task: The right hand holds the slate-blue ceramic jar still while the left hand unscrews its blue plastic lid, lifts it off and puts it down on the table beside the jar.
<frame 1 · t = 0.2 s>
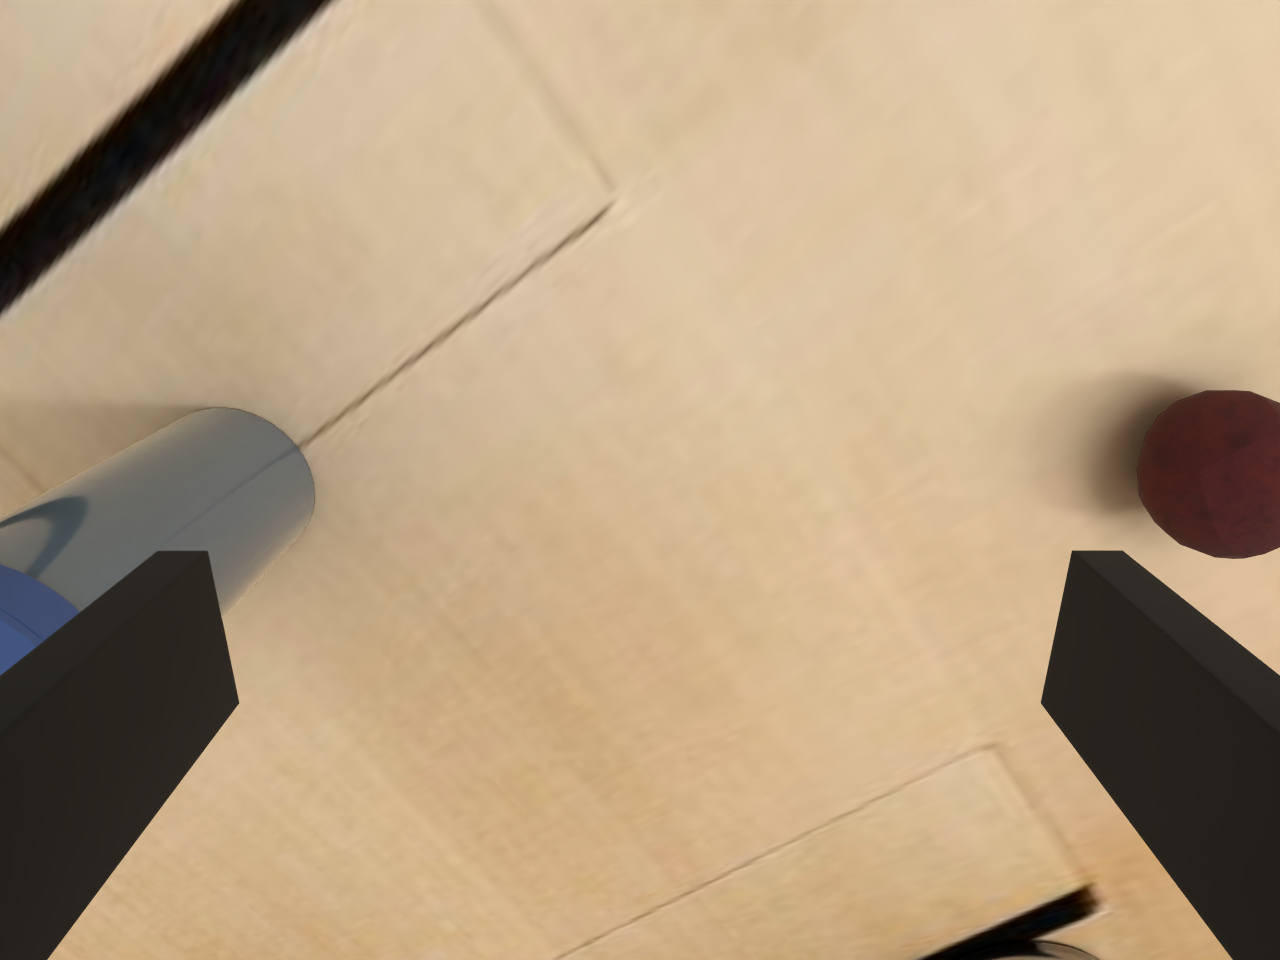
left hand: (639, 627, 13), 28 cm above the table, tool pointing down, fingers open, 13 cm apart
dark red ball: (1178, 446, 41), on the table
jar: (234, 484, 42), on the table
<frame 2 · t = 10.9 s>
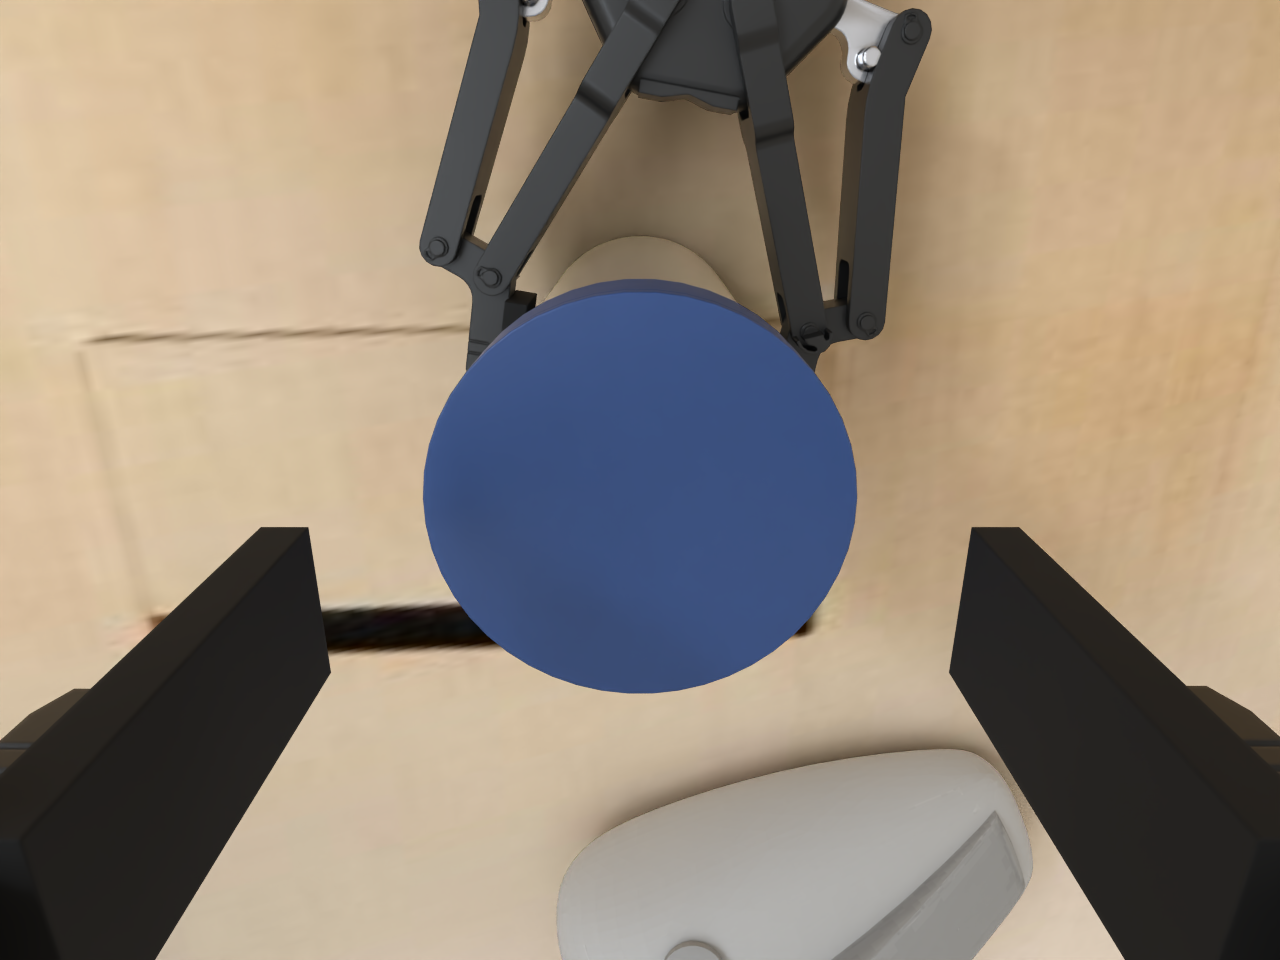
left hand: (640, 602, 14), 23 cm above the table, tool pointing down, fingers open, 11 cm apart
right hand: (618, 490, 31), fingers closed on jar, 8 cm apart
lid: (640, 505, 17), point 19 cm above the table, screwed on, not yet turned
projector: (791, 850, 45), on the table
jar: (640, 335, 35), on the table, touching right hand
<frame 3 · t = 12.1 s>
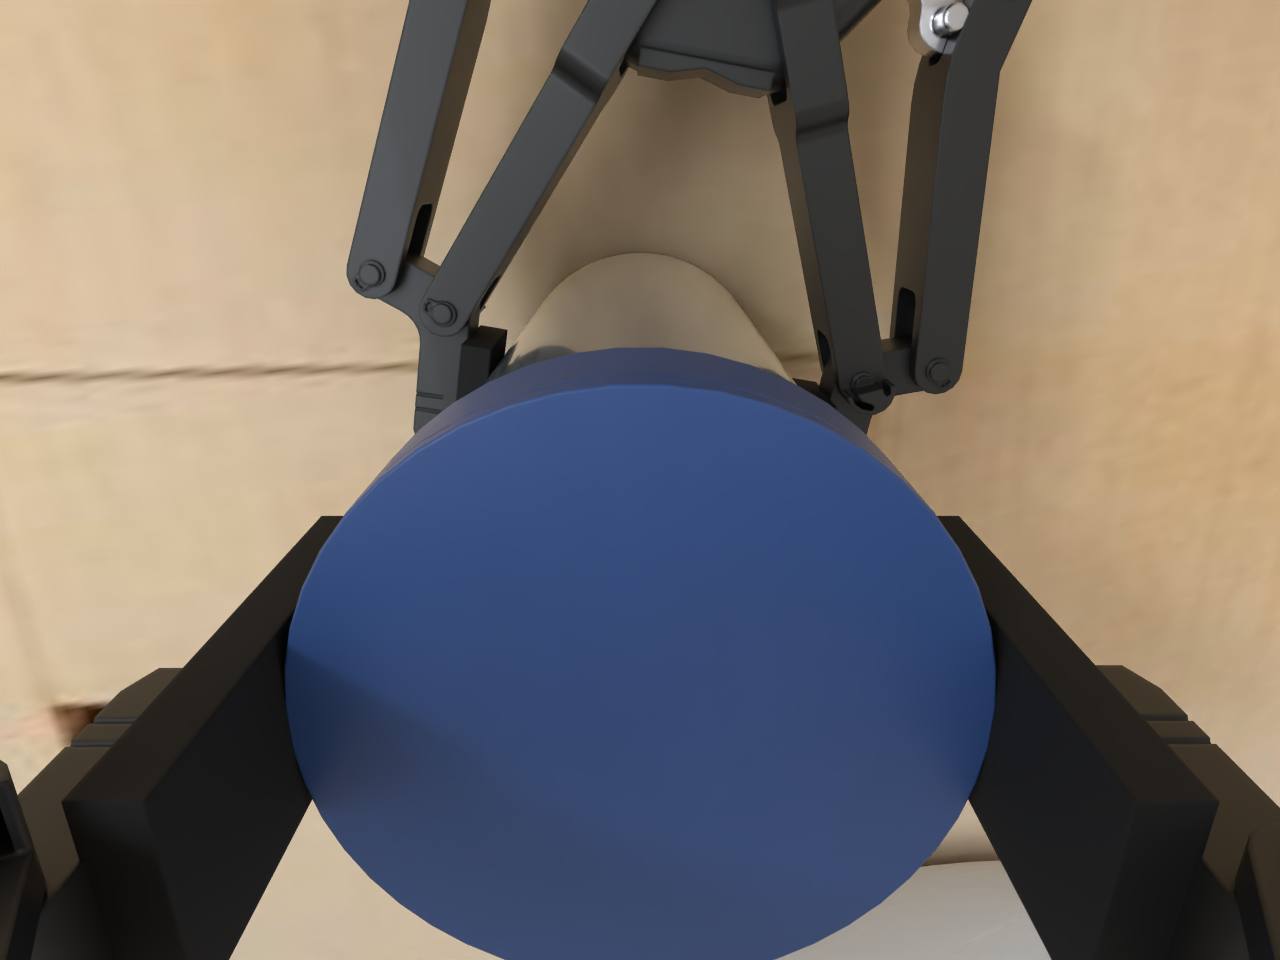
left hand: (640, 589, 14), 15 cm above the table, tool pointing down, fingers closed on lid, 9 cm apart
right hand: (613, 577, 24), fingers closed on jar, 8 cm apart
lid: (640, 711, 11), point 19 cm above the table, screwed on, not yet turned, touching left hand
jar: (639, 374, 28), on the table, touching right hand
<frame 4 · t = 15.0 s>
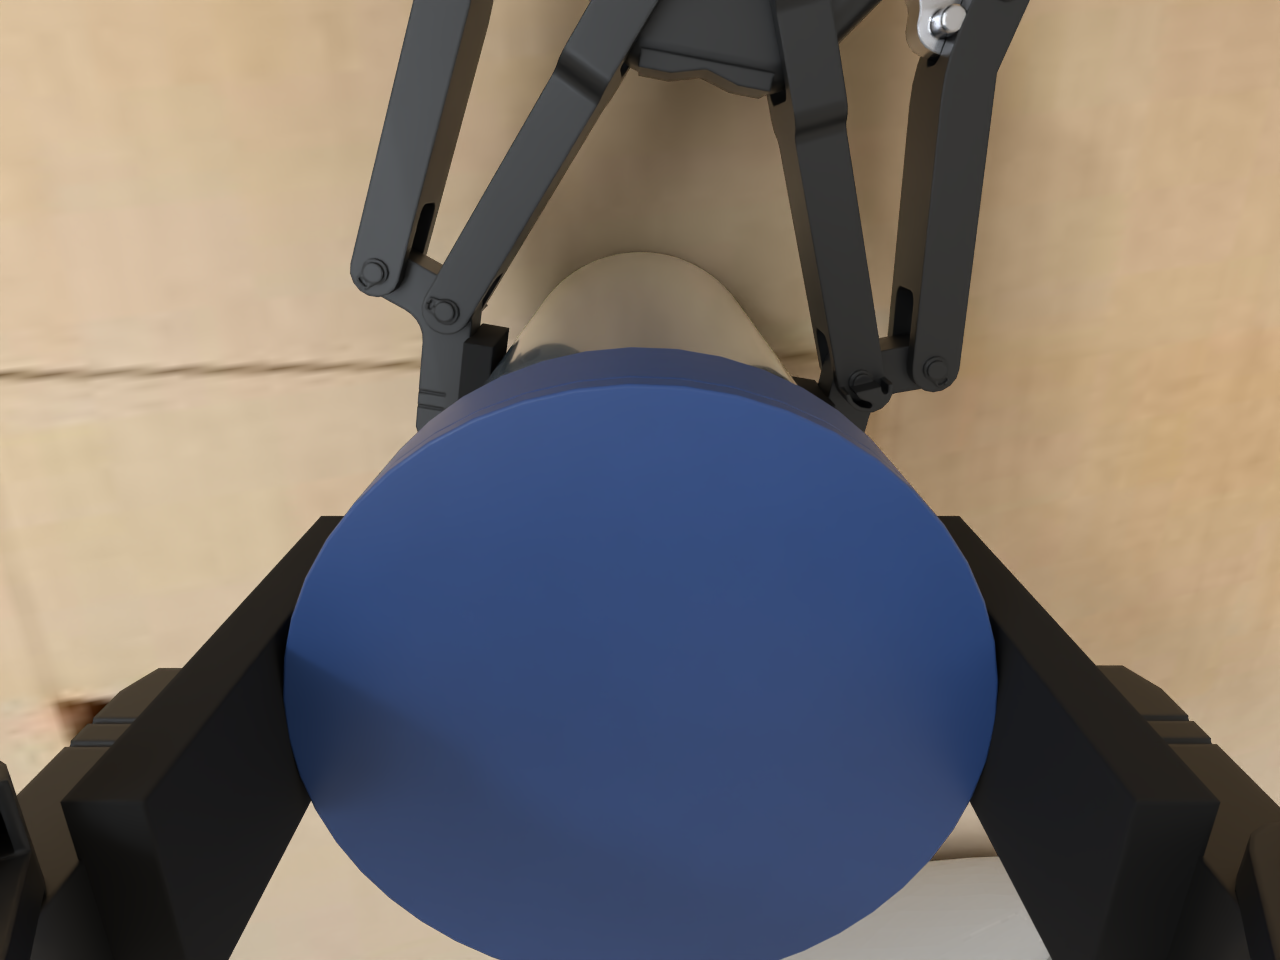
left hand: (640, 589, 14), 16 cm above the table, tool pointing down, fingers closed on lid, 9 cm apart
right hand: (613, 573, 25), fingers closed on jar, 8 cm apart
lid: (640, 713, 11), point 19 cm above the table, turned 73° so far, risen 0.3 cm, still on its thread, touching left hand
jar: (640, 372, 29), on the table, touching right hand
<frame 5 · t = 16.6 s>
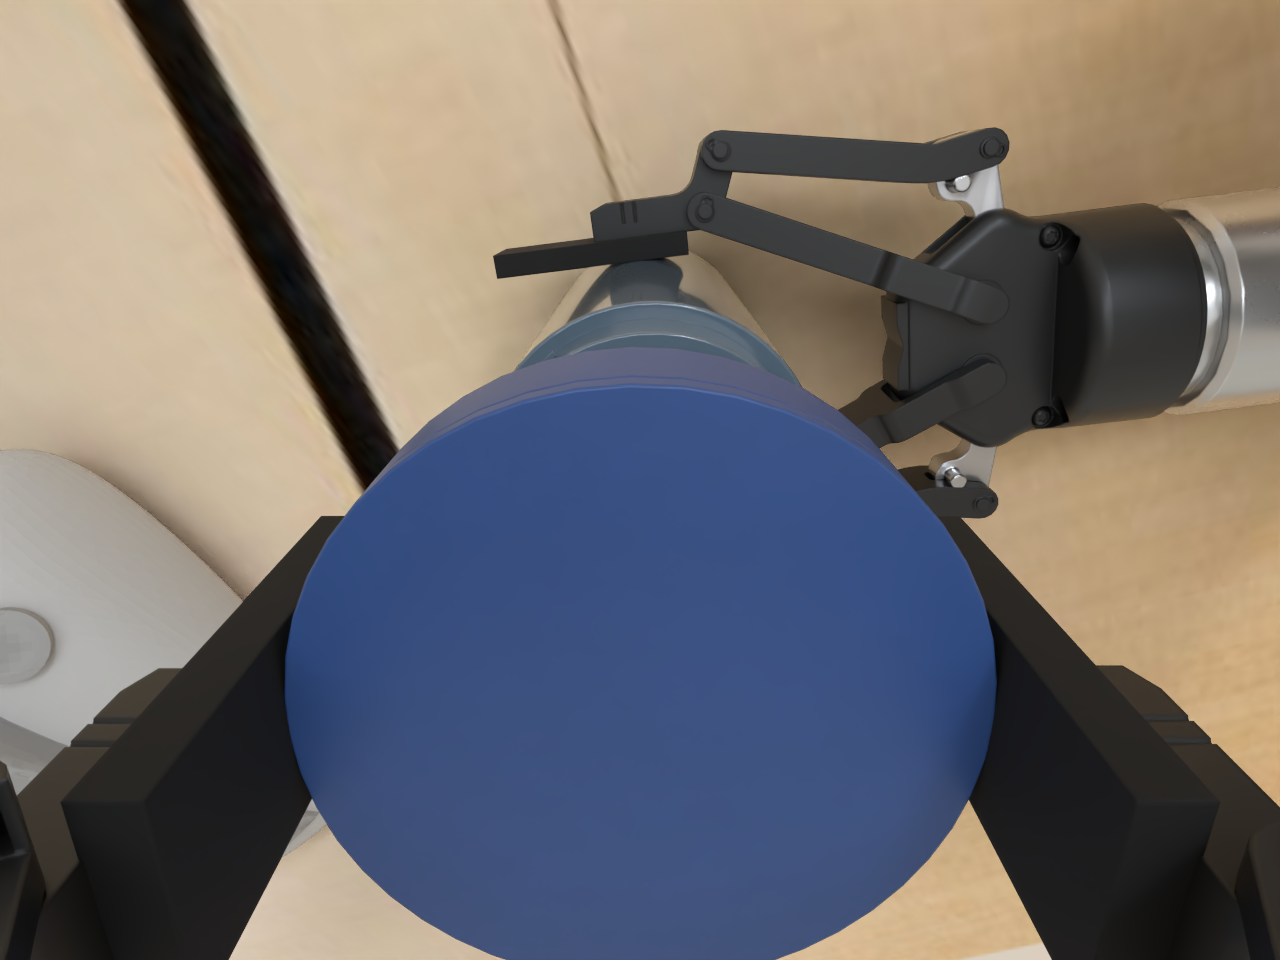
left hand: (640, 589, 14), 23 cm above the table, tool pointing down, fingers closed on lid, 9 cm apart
right hand: (524, 386, 31), fingers closed on jar, 8 cm apart
lid: (640, 712, 11), point 27 cm above the table, off its thread, touching left hand
projector: (163, 654, 42), on the table
jar: (650, 339, 36), on the table, touching right hand
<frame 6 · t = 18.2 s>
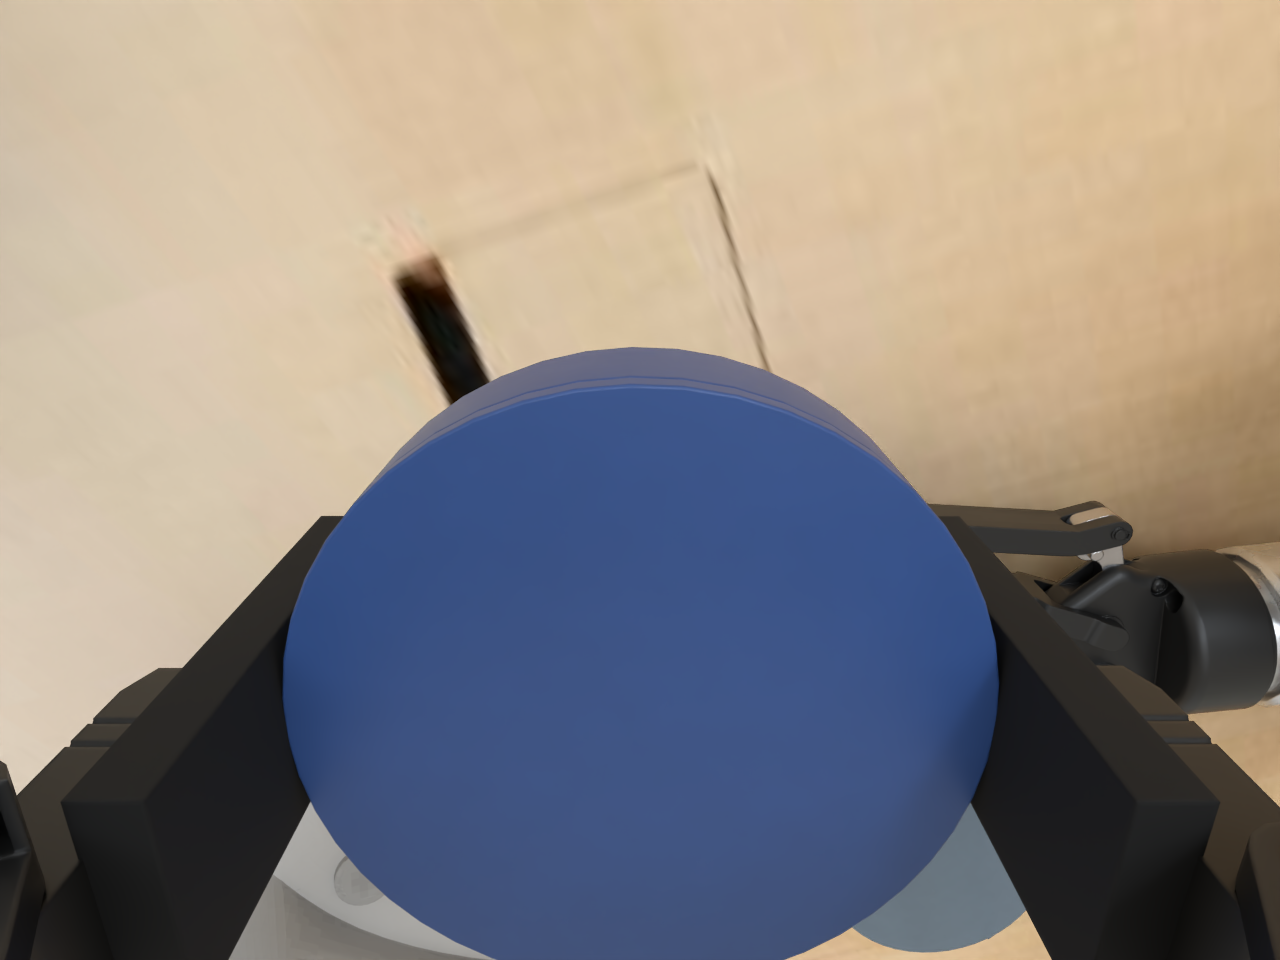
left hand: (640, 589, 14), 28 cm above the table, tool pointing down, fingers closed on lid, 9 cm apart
lid: (640, 714, 11), point 32 cm above the table, off its thread, touching left hand
projector: (411, 830, 52), on the table
jar: (824, 604, 46), on the table, touching right hand
when the left hand's fingers open (0 cm above the table, at t = 21.6 s): lid drops 2 cm, point 2 cm above the table.
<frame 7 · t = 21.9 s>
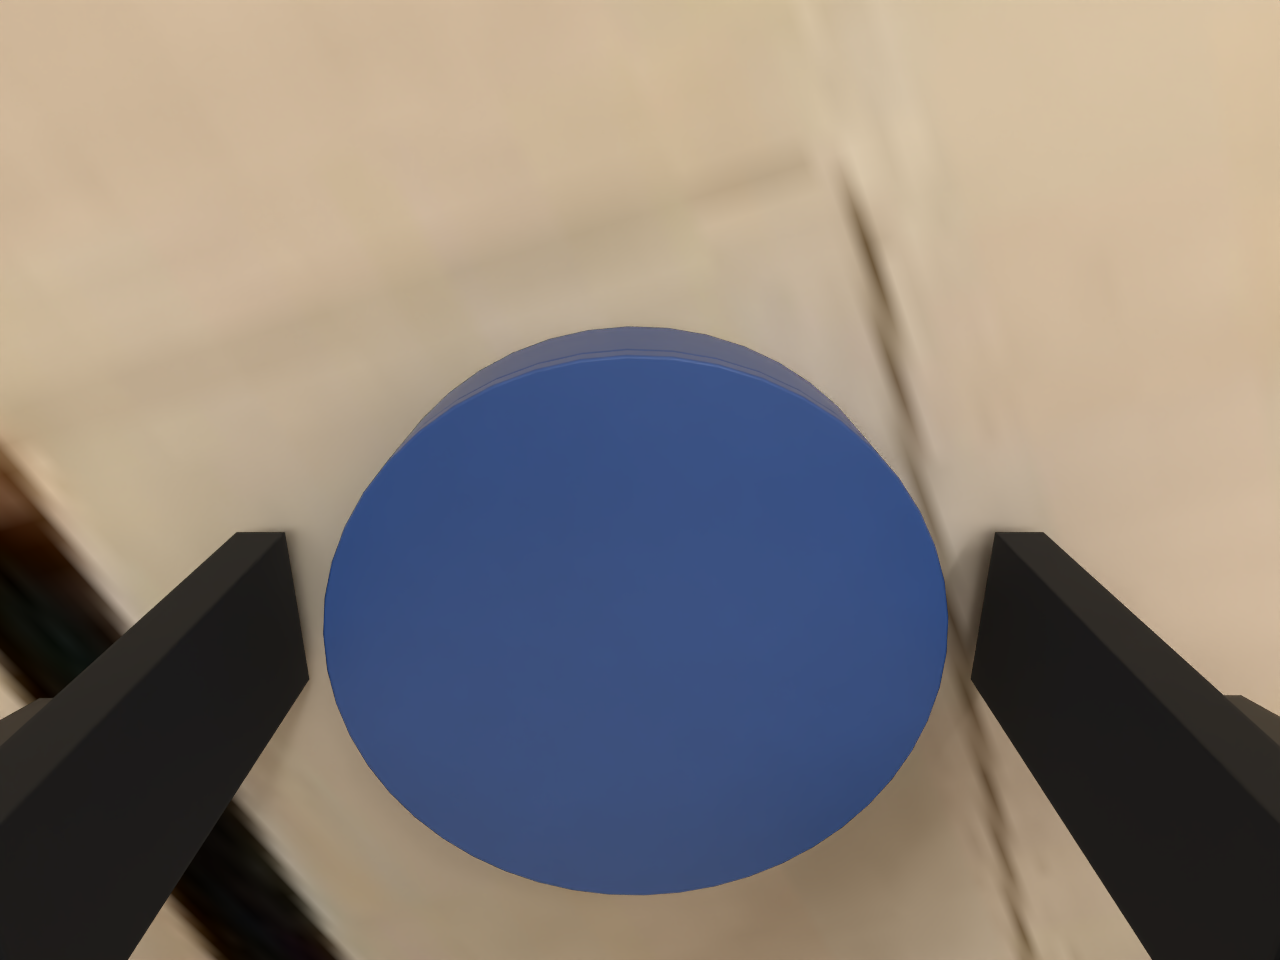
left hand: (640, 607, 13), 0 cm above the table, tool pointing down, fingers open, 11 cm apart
lid: (636, 648, 12), point 2 cm above the table, off its thread
when the right hand's fingers open (6 cm above the table, at t = 22.7 s): jar stays where it is, on the table.
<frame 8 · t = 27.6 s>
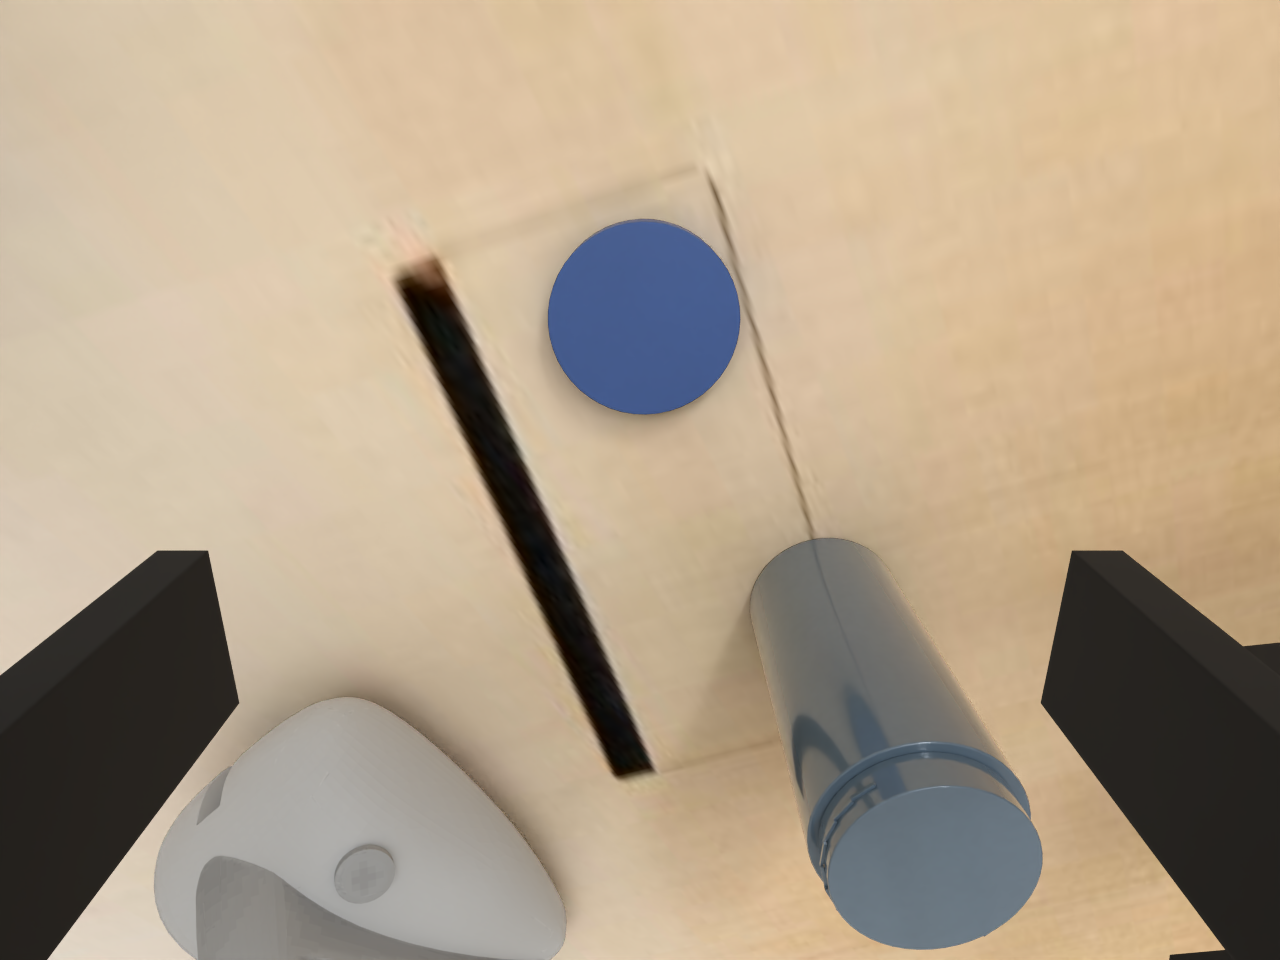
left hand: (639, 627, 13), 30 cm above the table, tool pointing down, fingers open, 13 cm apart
lid: (643, 320, 39), point 2 cm above the table, off its thread
projector: (410, 829, 52), on the table
jar: (822, 604, 46), on the table
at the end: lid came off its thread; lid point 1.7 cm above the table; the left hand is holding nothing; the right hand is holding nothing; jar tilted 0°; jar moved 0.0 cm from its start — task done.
